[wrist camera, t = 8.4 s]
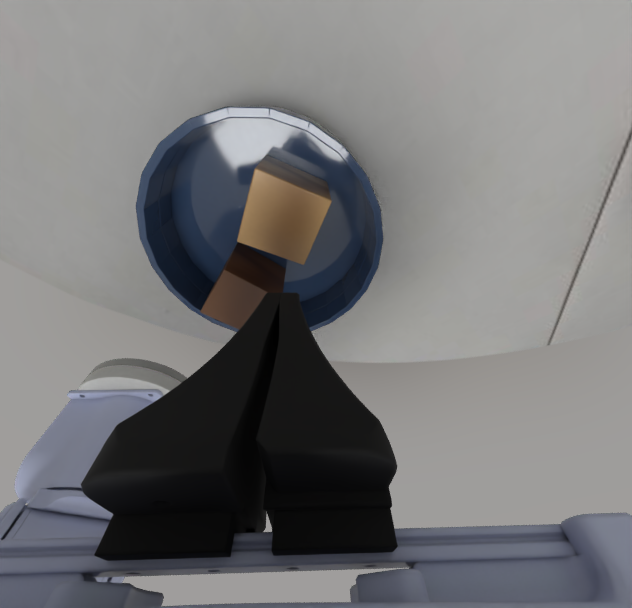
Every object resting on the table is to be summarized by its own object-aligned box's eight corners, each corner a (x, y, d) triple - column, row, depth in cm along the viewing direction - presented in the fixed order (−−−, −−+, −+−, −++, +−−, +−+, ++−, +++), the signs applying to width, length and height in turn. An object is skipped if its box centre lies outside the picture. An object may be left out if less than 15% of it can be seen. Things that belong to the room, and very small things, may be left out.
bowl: (198, 304, 23) (181, 337, 19) (132, 103, 14) (82, 103, 11) (357, 304, 23) (365, 336, 20) (386, 108, 15) (407, 109, 11)
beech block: (249, 216, 18) (236, 242, 14) (265, 153, 15) (254, 167, 12) (304, 237, 19) (304, 265, 15) (327, 181, 16) (332, 200, 13)
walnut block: (216, 280, 21) (199, 312, 17) (238, 240, 19) (223, 269, 15) (261, 302, 22) (253, 336, 19) (286, 268, 20) (282, 299, 17)
